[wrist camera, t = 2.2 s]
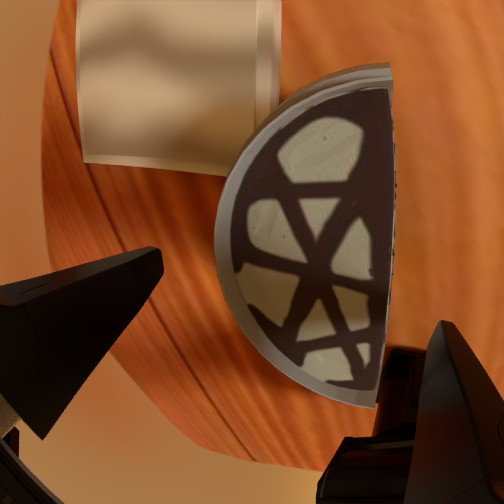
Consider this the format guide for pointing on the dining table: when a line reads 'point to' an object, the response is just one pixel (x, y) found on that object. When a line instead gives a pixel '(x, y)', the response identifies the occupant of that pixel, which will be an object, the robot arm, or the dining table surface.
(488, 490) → the robot arm
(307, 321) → the food container
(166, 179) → the dining table surface
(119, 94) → the serving board
